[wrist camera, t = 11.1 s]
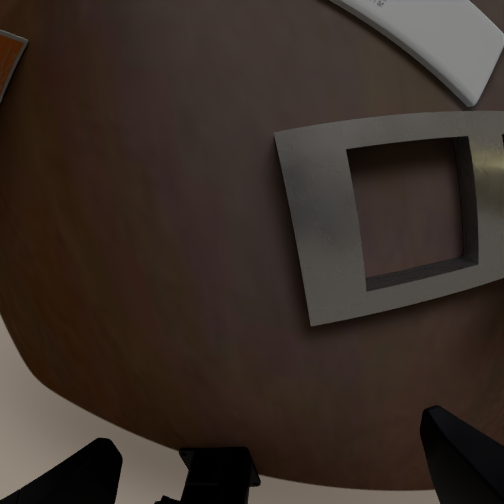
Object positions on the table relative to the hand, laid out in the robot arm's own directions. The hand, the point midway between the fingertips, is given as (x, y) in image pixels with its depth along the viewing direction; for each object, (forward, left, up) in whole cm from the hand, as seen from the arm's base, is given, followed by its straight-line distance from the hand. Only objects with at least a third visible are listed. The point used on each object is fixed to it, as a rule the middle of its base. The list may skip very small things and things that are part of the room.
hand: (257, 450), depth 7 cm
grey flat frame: (+3, -15, -13) cm, 20 cm away
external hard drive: (+16, -14, -14) cm, 26 cm away
